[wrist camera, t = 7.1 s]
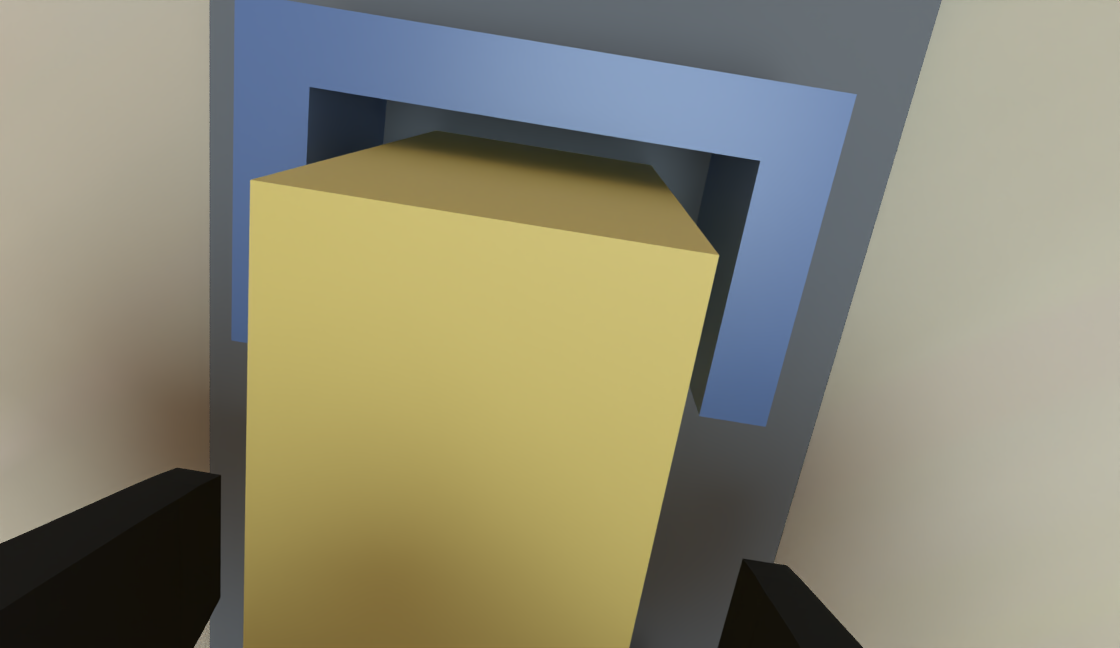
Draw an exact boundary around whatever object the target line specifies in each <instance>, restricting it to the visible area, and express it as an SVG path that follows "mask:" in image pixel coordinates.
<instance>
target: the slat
mask: <svg viewBox="0 0 1120 648" xmlns="http://www.w3.org/2000/svg"><path fill="white" fill-rule="evenodd" d="M718 259H719V254H718V253H717V252H716V250H715V249H714V248H713V246H712V245H711V244H710V242H709V241H708V240H707V238H706V237H705V236H704V234H703V233H702V232H701V230H700V229H699V228H698V226H697V225H696V224H695V223H694V221H693V220H692V219H691V217H690V216H689V215H688V213H687V212H686V211H685V209H684V208H683V207H682V205H681V204H680V203H679V201H678V200H677V199H676V197H675V196H674V195H673V193H672V192H671V191H670V189H669V188H668V187H667V186H666V184H665V183H664V182H663V180H662V179H661V178H660V176H659V175H658V174H657V172H656V171H655V170H654V168H653V167H652V166H651V165H647V164H641V163H635V162H628V161H622V160H616V159H610V158H604V157H597V156H591V155H585V154H579V153H573V152H567V151H560V150H554V149H548V148H542V147H536V146H529V145H523V144H517V143H511V142H505V141H498V140H492V139H486V138H480V137H474V136H467V135H461V134H455V133H449V132H443V131H437V130H436V131H432V132H428V133H425V134H421V135H417V136H413V137H410V138H406V139H402V140H398V141H395V142H391V143H387V144H383V145H380V146H376V147H372V148H368V149H364V150H361V151H357V152H353V153H349V154H346V155H342V156H338V157H334V158H331V159H327V160H323V161H319V162H316V163H312V164H308V165H304V166H300V167H297V168H293V169H289V170H285V171H282V172H278V173H274V174H270V175H267V176H263V177H259V178H255V179H252V180H250V228H249V294H248V360H247V426H246V492H245V557H244V623H243V648H629V646H630V642H631V637H632V633H633V629H634V624H635V620H636V616H637V611H638V607H639V603H640V598H641V594H642V590H643V585H644V581H645V576H646V572H647V568H648V563H649V559H650V555H651V550H652V546H653V542H654V537H655V533H656V529H657V524H658V520H659V516H660V511H661V507H662V502H663V498H664V494H665V489H666V485H667V481H668V476H669V472H670V468H671V463H672V459H673V455H674V450H675V446H676V442H677V437H678V433H679V428H680V424H681V420H682V415H683V411H684V407H685V402H686V398H687V394H688V389H689V385H690V381H691V376H692V372H693V368H694V363H695V359H696V354H697V350H698V346H699V341H700V337H701V333H702V328H703V324H704V320H705V315H706V311H707V307H708V302H709V298H710V294H711V289H712V285H713V280H714V276H715V272H716V267H717V263H718Z"/></svg>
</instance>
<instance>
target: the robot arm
mask: <svg viewBox="0 0 1120 648" xmlns="http://www.w3.org/2000/svg"><path fill="white" fill-rule="evenodd" d="M220 598H221V475H219V474H212V473H206V472H200V471H194V470H187V469H181V468H175V469H172V470H170V471H167V472H164V473H161V474H159V475H156V476H154V477H151V478H149V479H147V480H144V481H142V482H140V483H137V484H135V485H133V486H130V487H128V488H126V489H123V490H121V491H119V492H117V493H114V494H112V495H110V496H108V497H105V498H103V499H101V500H99V501H96V502H94V503H92V504H90V505H88V506H85V507H83V508H81V509H79V510H76V511H74V512H72V513H69V514H67V515H65V516H63V517H60V518H58V519H56V520H54V521H51V522H49V523H47V524H44V525H42V526H40V527H38V528H35V529H33V530H31V531H29V532H26V533H24V534H22V535H20V536H17V537H15V538H13V539H10V540H8V541H6V542H3V543H1V544H0V648H194V646H195V644H196V643H197V641H198V639H199V637H200V636H201V634H202V632H203V630H204V628H205V626H206V624H207V623H208V621H209V619H210V617H211V615H212V613H213V611H214V609H215V608H216V606H217V604H218V602H219V600H220ZM718 648H863V647H862V646H861V645H860V644H859V643H858V642H857V640H856V639H855V638H854V637H853V636H852V635H851V634H850V633H849V632H848V631H847V630H846V628H845V627H844V626H843V625H842V624H841V623H840V622H839V621H838V620H837V619H836V617H835V616H834V615H833V614H832V613H831V612H830V611H829V610H828V609H827V608H826V606H825V605H824V604H823V603H822V602H821V601H820V600H819V599H818V598H817V597H816V595H815V594H814V593H813V592H812V591H811V590H810V589H809V588H808V587H807V586H806V585H805V584H804V582H803V581H802V580H801V579H800V578H799V577H798V576H797V575H796V574H795V573H794V572H793V571H792V570H791V569H790V568H789V567H788V566H787V565H780V564H774V563H768V562H762V561H756V560H749V559H742V563H741V566H740V570H739V573H738V577H737V580H736V584H735V588H734V591H733V595H732V598H731V602H730V605H729V609H728V612H727V616H726V620H725V623H724V627H723V630H722V634H721V637H720V641H719V644H718Z"/></svg>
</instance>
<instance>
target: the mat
mask: <svg viewBox="0 0 1120 648" xmlns="http://www.w3.org/2000/svg"><path fill="white" fill-rule="evenodd" d="M288 1H294V2H300V3H306V4H312V5H318V6H324V7H330V8H336V9H342V10H348V11H354V12H360V13H366V14H372V15H379V16H385V17H391V18H397V19H403V20H409V21H415V22H421V23H427V24H433V25H439V26H445V27H451V28H457V29H463V30H470V31H476V32H482V33H488V34H494V35H500V36H506V37H512V38H518V39H524V40H530V41H536V42H542V43H548V44H554V45H561V46H567V47H573V48H579V49H585V50H591V51H597V52H603V53H609V54H615V55H621V56H627V57H633V58H639V59H645V60H652V61H658V62H664V63H670V64H676V65H682V66H688V67H694V68H700V69H706V70H712V71H718V72H724V73H730V74H736V75H743V76H749V77H755V78H761V79H767V80H773V81H779V82H785V83H791V84H797V85H803V86H809V87H815V88H821V89H827V90H834V91H840V92H846V93H852V94H857V96H856V99H855V103H854V107H853V110H852V114H851V118H850V121H849V125H848V129H847V132H846V136H845V139H844V143H843V147H842V150H841V154H840V158H839V161H838V165H837V169H836V172H835V176H834V180H833V183H832V187H831V190H830V194H829V198H828V201H827V205H826V209H825V212H824V216H823V220H822V223H821V227H820V231H819V234H818V238H817V241H816V245H815V249H814V252H813V256H812V260H811V263H810V267H809V271H808V274H807V278H806V282H805V285H804V289H803V292H802V296H801V300H800V303H799V307H798V311H797V314H796V318H795V322H794V325H793V329H792V332H791V336H790V340H789V343H788V347H787V351H786V354H785V358H784V362H783V365H782V369H781V373H780V376H779V380H778V383H777V387H776V391H775V394H774V398H773V402H772V405H771V409H770V413H769V416H768V420H767V424H766V427H764V426H758V425H752V424H745V423H739V422H733V421H727V420H721V419H714V418H708V417H702V416H699V414H698V411H697V408H696V405H695V402H694V399H693V396H692V392H691V389H690V386H689V389H688V394H687V398H686V402H685V407H684V411H683V415H682V420H681V424H680V428H679V433H678V437H677V442H676V446H675V450H674V455H673V459H672V463H671V468H670V472H669V476H668V481H667V485H666V489H665V494H664V498H663V502H662V507H661V511H660V516H659V520H658V524H657V529H656V533H655V537H654V542H653V546H652V550H651V555H650V559H649V563H648V568H647V572H646V576H645V581H644V585H643V590H642V594H641V598H640V603H639V607H638V611H637V616H636V620H635V624H634V629H633V633H632V637H631V642H630V646H629V648H718V644H719V641H720V637H721V634H722V630H723V627H724V623H725V620H726V616H727V612H728V609H729V605H730V602H731V598H732V595H733V591H734V588H735V584H736V580H737V577H738V573H739V570H740V566H741V563H742V559H749V560H756V561H762V562H768V563H774V560H775V556H776V553H777V550H778V546H779V543H780V539H781V536H782V533H783V529H784V526H785V523H786V519H787V516H788V513H789V509H790V506H791V503H792V499H793V496H794V493H795V489H796V486H797V483H798V479H799V476H800V473H801V469H802V466H803V462H804V459H805V456H806V452H807V449H808V446H809V442H810V439H811V436H812V432H813V429H814V426H815V422H816V419H817V416H818V412H819V409H820V406H821V402H822V399H823V396H824V392H825V389H826V385H827V382H828V379H829V375H830V372H831V369H832V365H833V362H834V359H835V355H836V352H837V349H838V345H839V342H840V339H841V335H842V332H843V329H844V325H845V322H846V319H847V315H848V312H849V308H850V305H851V302H852V298H853V295H854V292H855V288H856V285H857V282H858V278H859V275H860V272H861V268H862V265H863V262H864V258H865V255H866V252H867V248H868V245H869V242H870V238H871V235H872V231H873V228H874V225H875V221H876V218H877V215H878V211H879V208H880V205H881V201H882V198H883V195H884V191H885V188H886V185H887V181H888V178H889V175H890V171H891V168H892V165H893V161H894V158H895V154H896V151H897V148H898V144H899V141H900V138H901V134H902V131H903V128H904V124H905V121H906V118H907V114H908V111H909V108H910V104H911V101H912V98H913V94H914V91H915V88H916V84H917V81H918V77H919V74H920V71H921V67H922V64H923V61H924V57H925V54H926V51H927V47H928V44H929V41H930V37H931V34H932V31H933V27H934V24H935V21H936V17H937V14H938V10H939V7H940V4H941V0H288ZM234 23H235V0H210V473H212V474H219V475H221V598H220V600H219V602H218V604H217V606H216V608H215V609H214V611H213V613H212V615H211V617H210V648H243V623H244V557H245V492H246V426H247V360H248V343H244V342H238V341H232V340H231V331H232V228H233V125H234ZM436 130H437V131H443V132H449V133H455V134H461V135H467V136H474V137H480V138H486V139H492V140H498V141H505V142H511V143H517V144H523V145H529V146H536V147H542V148H548V149H554V150H560V151H567V152H573V153H579V154H585V155H591V156H597V157H604V158H610V159H616V160H622V161H628V162H635V163H641V164H647V165H651V166H652V167H653V168H654V170H655V171H656V172H657V174H658V175H659V176H660V178H661V179H662V180H663V182H664V183H665V184H666V186H667V187H668V188H669V189H670V191H671V192H672V193H673V195H674V196H675V197H676V199H677V200H678V201H679V203H680V204H681V205H682V207H683V208H684V209H685V211H686V212H687V213H688V215H689V216H690V217H691V219H692V220H693V221H694V223H695V224H697V219H698V215H699V210H700V206H701V201H702V196H703V192H704V187H705V183H706V178H707V174H708V169H709V164H710V160H711V155H712V153H710V152H703V151H697V150H691V149H685V148H679V147H673V146H667V145H661V144H655V143H649V142H643V141H636V140H630V139H624V138H618V137H612V136H606V135H600V134H594V133H588V132H582V131H575V130H569V129H563V128H557V127H551V126H545V125H539V124H533V123H527V122H521V121H515V120H508V119H502V118H496V117H490V116H484V115H478V114H472V113H466V112H460V111H454V110H447V109H441V108H435V107H429V106H423V105H417V104H411V103H405V102H399V101H393V100H387V102H386V116H385V129H384V142H383V144H387V143H391V142H395V141H398V140H402V139H406V138H410V137H413V136H417V135H421V134H425V133H428V132H432V131H436Z"/></svg>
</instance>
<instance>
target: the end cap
mask: <svg viewBox="0 0 1120 648" xmlns="http://www.w3.org/2000/svg"><path fill="white" fill-rule="evenodd" d="M856 96H857V94H852V93H846V92H840V91H834V90H827V89H821V88H815V87H809V86H803V85H797V84H791V83H785V82H779V81H773V80H767V79H761V78H755V77H749V76H743V75H736V74H730V73H724V72H718V71H712V70H706V69H700V68H694V67H688V66H682V65H676V64H670V63H664V62H658V61H652V60H645V59H639V58H633V57H627V56H621V55H615V54H609V53H603V52H597V51H591V50H585V49H579V48H573V47H567V46H561V45H554V44H548V43H542V42H536V41H530V40H524V39H518V38H512V37H506V36H500V35H494V34H488V33H482V32H476V31H470V30H463V29H457V28H451V27H445V26H439V25H433V24H427V23H421V22H415V21H409V20H403V19H397V18H391V17H385V16H379V15H372V14H366V13H360V12H354V11H348V10H342V9H336V8H330V7H324V6H318V5H312V4H306V3H300V2H294V1H288V0H235V23H234V125H233V228H232V331H231V340H232V341H238V342H244V343H248V294H249V228H250V180H252V179H255V178H259V177H263V176H267V175H270V174H274V173H278V172H282V171H285V170H289V169H293V168H297V167H300V166H304V165H308V164H312V163H316V162H319V161H323V160H327V159H331V158H334V157H338V156H342V155H346V154H349V153H353V152H357V151H361V150H364V149H368V148H372V147H376V146H380V145H383V142H384V129H385V116H386V102H387V100H393V101H399V102H405V103H411V104H417V105H423V106H429V107H435V108H441V109H447V110H454V111H460V112H466V113H472V114H478V115H484V116H490V117H496V118H502V119H508V120H515V121H521V122H527V123H533V124H539V125H545V126H551V127H557V128H563V129H569V130H575V131H582V132H588V133H594V134H600V135H606V136H612V137H618V138H624V139H630V140H636V141H643V142H649V143H655V144H661V145H667V146H673V147H679V148H685V149H691V150H697V151H703V152H710V153H712V155H711V160H710V164H709V169H708V174H707V178H706V183H705V187H704V192H703V196H702V201H701V206H700V210H699V215H698V219H697V224H696V225H697V226H698V228H699V229H700V230H701V232H702V233H703V234H704V236H705V237H706V238H707V240H708V241H709V242H710V244H711V245H712V246H713V248H714V249H715V250H716V252H717V253H718V254H719V259H718V263H717V267H716V272H715V276H714V280H713V285H712V289H711V294H710V298H709V302H708V307H707V311H706V315H705V320H704V324H703V328H702V333H701V337H700V341H699V346H698V350H697V354H696V359H695V363H694V368H693V372H692V376H691V381H690V385H689V386H690V389H691V392H692V396H693V399H694V402H695V405H696V408H697V411H698V414H699V416H702V417H708V418H714V419H721V420H727V421H733V422H739V423H745V424H752V425H758V426H764V427H766V424H767V420H768V416H769V413H770V409H771V405H772V402H773V398H774V394H775V391H776V387H777V383H778V380H779V376H780V373H781V369H782V365H783V362H784V358H785V354H786V351H787V347H788V343H789V340H790V336H791V332H792V329H793V325H794V322H795V318H796V314H797V311H798V307H799V303H800V300H801V296H802V292H803V289H804V285H805V282H806V278H807V274H808V271H809V267H810V263H811V260H812V256H813V252H814V249H815V245H816V241H817V238H818V234H819V231H820V227H821V223H822V220H823V216H824V212H825V209H826V205H827V201H828V198H829V194H830V190H831V187H832V183H833V180H834V176H835V172H836V169H837V165H838V161H839V158H840V154H841V150H842V147H843V143H844V139H845V136H846V132H847V129H848V125H849V121H850V118H851V114H852V110H853V107H854V103H855V99H856Z"/></svg>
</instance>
